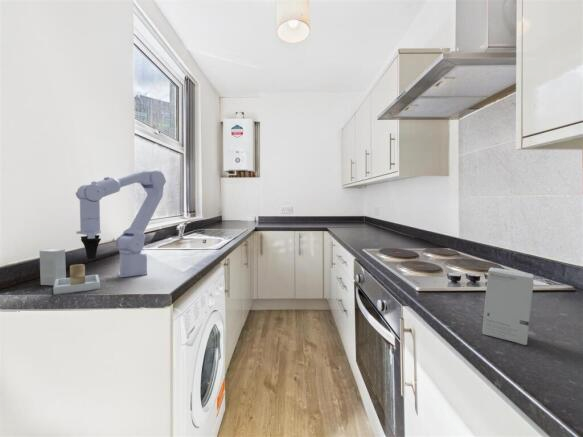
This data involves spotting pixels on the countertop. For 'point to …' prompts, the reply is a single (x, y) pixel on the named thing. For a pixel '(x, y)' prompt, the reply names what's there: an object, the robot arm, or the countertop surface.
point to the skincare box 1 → (52, 266)
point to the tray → (64, 285)
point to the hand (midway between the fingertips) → (91, 256)
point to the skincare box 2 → (508, 304)
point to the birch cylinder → (77, 274)
